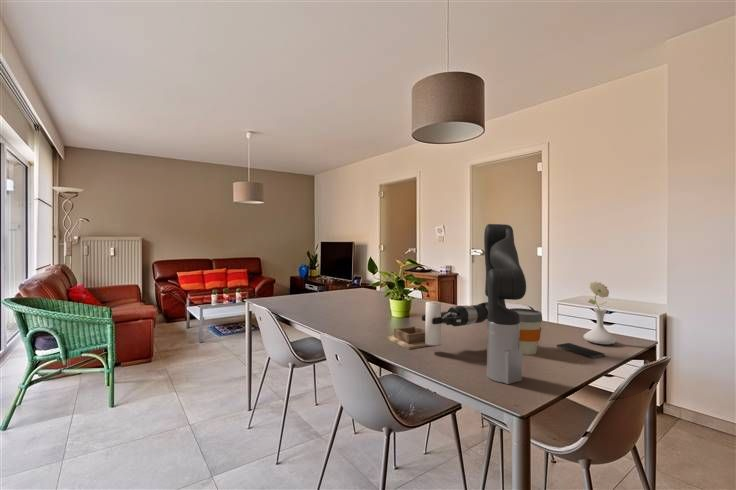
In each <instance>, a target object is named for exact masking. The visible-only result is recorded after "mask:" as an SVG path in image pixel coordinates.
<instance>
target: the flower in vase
mask: <svg viewBox="0 0 736 490" xmlns="http://www.w3.org/2000/svg"><path fill="white" fill-rule="evenodd" d="M589 289H590V291H591V292H592V293H593V294H594V299H593V298H590V299H589V300H588V301H587V302H588V303H589V304H592V305H596V307H594V308H593V309H592V310H593V311H594V312H595V315H596V325H595V327H594V328H592V329H591V330H588V331H587V332H586V333H584V334H583V338H584V339H585V340H586V341H588V342H591V343H593V344H599V345H612V344H615V343H617V339H616V337H615V336H614V335H613V334H612V333H611V332H609V331H608V330H607V329H606V328H605V327H604V319H605V315H606V313H607V311H608V309H606V308H602V307H601V308H600V306H602V305H604V304H607V301H605V302H602V303H600V304H598V303H597V296H598V297H599V298H601V299H602V298H608V297H609V295H610V291H609V289H608V286H606V285H605V284H603V283H602V282H601V281H599V282H598V280H594V281H593V282H590V283H589Z"/></svg>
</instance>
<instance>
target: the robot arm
mask: <svg viewBox="0 0 736 490" xmlns="http://www.w3.org/2000/svg"><path fill="white" fill-rule="evenodd" d="M483 236H484V237H483V242H484V243H483V244H484V247H483V248H484V265H485V287H484V288H485V290H484V291H485V292H484V294H485V296H486V297H487V302H481V303H478V304H473V305H457V306H456V305H455V306H451V307H450V308H448V310H445V311H443V310H442V311H441V317H437V318H432V324H442V325H446V326H449V325H450V326H452V327H462V326H469V325H473V324H480V323H483V322H485V321H486V320H487V331H486V333H487V334H486V335H487V336H486V341H487V342H486V377H487V378H488V379H490V380H492V381H495V382H497V383H498V382H499V383H504V384H506V385H509V384H513V383H517V382H521V381H522V380H523V378H522V377H523V373H522V372H523V354H522V349H520V348H519V336H520V315H519V313H517V312H516V311H513V310H511V309H512V308H508V307H507V304H506V301H505V300H510V301H511V300H512V301H515V300H516V301H517V300H522V299H523V298H524V297H525V295H526V292H527V282H526V277H525V273H524V272H523V269H522V266H521V265H520V262H519V261H520V259H519V254H518V251H517V247H516V244H515V237H514V236H515V235H514V229H513V227H512V226H511V225H510V224H504V223H503V224H502V223H500V224H497V223H488V224H486V226H485V229H484V235H483ZM425 319H426V314H422V315H421V321H422V322H425Z"/></svg>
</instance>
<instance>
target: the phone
mask: <svg viewBox="0 0 736 490" xmlns="http://www.w3.org/2000/svg"><path fill="white" fill-rule="evenodd" d="M556 348H557V349H561V350H564V351H567V352H570V353H573V354H576V355H579V356H581V357H584V358H587V359H599V358H602V357H603V358H604V357H606V356H605V355H606V353H604V352H600V351H597V350H594V349H590V348H587V347H583V346H581V345H578V344H574V343H572V342H571V343H570V342H568V343H567V342H565V343H559V344H556Z"/></svg>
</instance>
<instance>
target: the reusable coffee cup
mask: <svg viewBox="0 0 736 490" xmlns="http://www.w3.org/2000/svg"><path fill="white" fill-rule="evenodd" d="M510 309H511V310H513V311H516V312H517V313H519V315H520V336H519V348H520V349H522V355H524V356H525V355H526V356H527V355H529V356H531V355H536V353H537V351H538V343H539V341H540V338H541V333H542V327H541V324H542V322H543V314H542V313H543V312H541V311H539V310H537V309H531V308H523V307H522V308H520V307H518V308H517V307H515V308H513V307H512V308H510Z"/></svg>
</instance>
